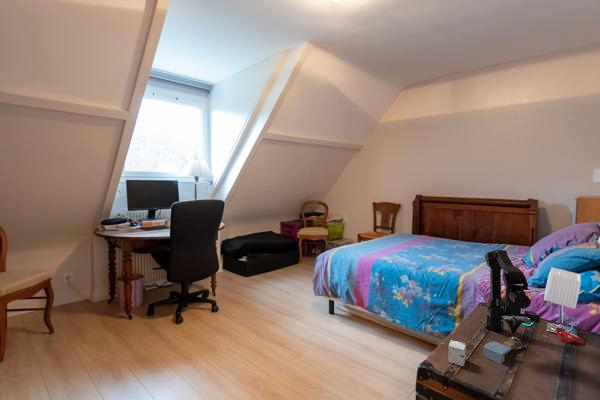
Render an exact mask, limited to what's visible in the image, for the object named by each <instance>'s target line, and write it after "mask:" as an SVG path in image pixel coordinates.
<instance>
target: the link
mask: <svg viewBox="0 0 600 400" xmlns="http://www.w3.org/2000/svg"><path fill="white" fill-rule="evenodd" d="M502 344H503V345H505V346H507V347H510V348H511V350H510V351H509V352H507V353H506V354H505V356H506V355H507V354H509V353H510V352H511V351H513V350H515V349H514V348H516V347H520V344H521V339H519V338H518V340H513V339H512V336H511V337H509V338H508V339H507V341H505V342H503V343H502Z"/></svg>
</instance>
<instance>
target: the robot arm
mask: <svg viewBox="0 0 600 400" xmlns="http://www.w3.org/2000/svg"><path fill="white" fill-rule="evenodd" d="M484 260H485V262H486V265H487V266H488V268H489V273H490V274H489V277H490V279H489V280H490V297H489V299H488V301H486V307H485V308H484V310H483V311H484V312H483V313H484V316H485V318H486V326H485V327H484V328H485V329H487V330H489V331H492V332H494V333H501V332H502V331H505V327H504V326H505V323H504V322H506V324H507V326H508V330H509V333H510V334H511V335H514V334H515V333H516V332H517V330H518V329H519V328H520V326H522V325H521V324H522V323H525V322H524V321H523V318H530V320H531V321H532V322H534V323H535V324H536V323H539V324H540V323H541V317H540V315H538V313H536V311H533V310H524V311H523V312H522V309H528V308H529V307H530V306H531V304H532V301H531V300H532V299H531V298H530V297H529V296H528V295H527V294H526V291H529V288H528V287H529V283H528V280H527V277H526V275H525V274H524V273H523V271H522V270H521V269H520V268H518V267H516V266H515V265H514V263H513V262H512V260H511V258H510V257H509V256H508V251H507V250H505V249H494V250H492V251H487V252H486V253H485V254H484ZM502 271H503V272H502ZM502 280H503V283H504V286H505V287H504V288H505V291H504V292H505V294H504V295H505V296H504V298H503V299H504V300H503V299H502ZM521 312H522V313H521ZM511 317H512V319H513V320H512V319H511Z"/></svg>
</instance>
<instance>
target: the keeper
mask: <svg viewBox="0 0 600 400" xmlns="http://www.w3.org/2000/svg"><path fill="white" fill-rule="evenodd" d="M510 350H511V348H510V347H507V346H505V345H503V343H500V342H498V341H494V340H493V341H489V342H487V343H485V344H484V345H483V357H484V358H487V359H488V360H490V361H493V362H495V363H498V364H500V365H502V364H503V363H504V362H505V357H506V355H507V354H508V353H507V352H509V351H510ZM511 351H512V350H511ZM511 351H510V352H511ZM510 352H509V353H510ZM506 353H507V354H506ZM505 354H506V355H505Z"/></svg>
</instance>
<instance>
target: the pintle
mask: <svg viewBox="0 0 600 400" xmlns="http://www.w3.org/2000/svg"><path fill="white" fill-rule="evenodd" d="M511 337H512V339H513V340H518V339H519V338H518V337H517V336H511ZM518 349H521V350H523V349H522V348H521V346H520V347H516V348H514V349H513V350H518Z"/></svg>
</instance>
